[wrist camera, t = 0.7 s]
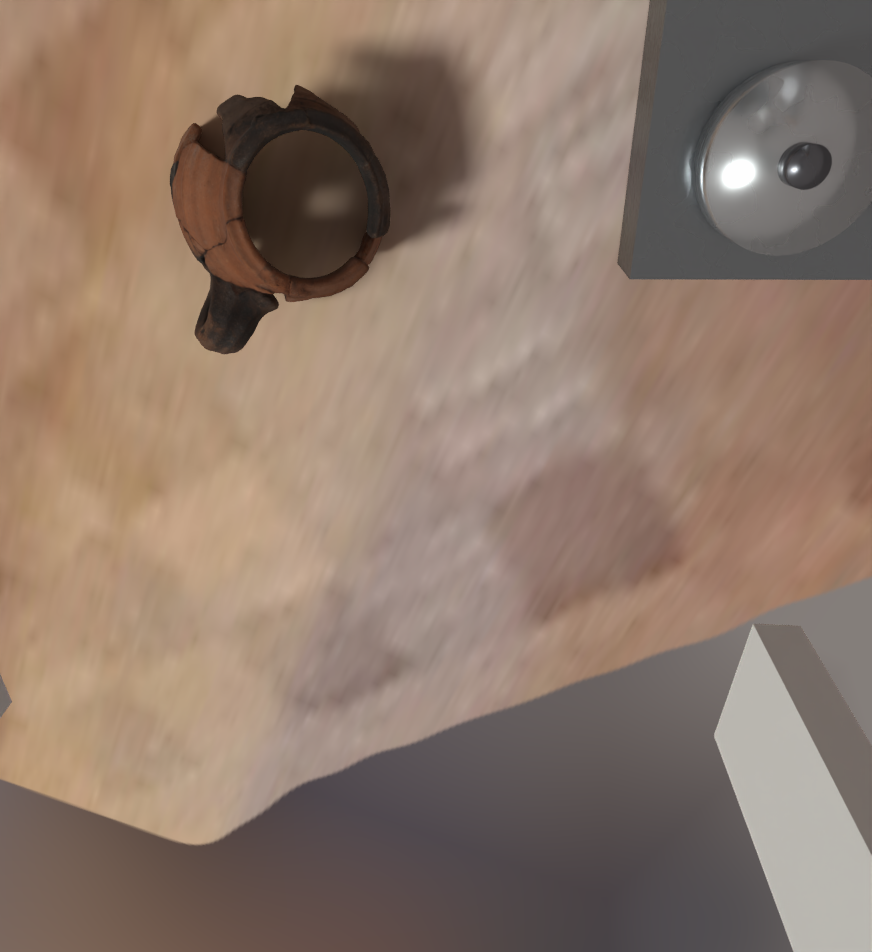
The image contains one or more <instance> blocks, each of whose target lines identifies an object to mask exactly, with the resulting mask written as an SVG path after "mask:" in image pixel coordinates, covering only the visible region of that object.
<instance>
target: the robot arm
mask: <svg viewBox="0 0 872 952" xmlns="http://www.w3.org/2000/svg"><path fill="white" fill-rule="evenodd" d="M11 702H12V701H11V698H10V696H9V694H8V691H7V689H6V687H5V684H4V682H3V680H2V677H1V675H0V718H1V716H2V715H3V713H4V712H5V711H6V709H7V708H8V707H9V705H10V704H11ZM714 737H715V740H716V742H717V745H718V748H719V751H720V753H721V756H722V759H723V761H724V764H725V767H726V770H727V772H728V775H729V778H730V780H731V783H732V786H733V789H734V791H735V794H736V797H737V799H738V802H739V805H740V808H741V810H742V813H743V816H744V819H745V821H746V824H747V827H748V829H749V832H750V835H751V837H752V840H753V843H754V846H755V848H756V851H757V854H758V856H759V859H760V862H761V865H762V867H763V870H764V873H765V876H766V878H767V880H768V884H769V886H770V889H771V892H772V895H773V897H774V900H775V903H776V905H777V908H778V911H779V914H780V916H781V919H782V922H783V924H784V927H785V930H786V933H787V935H788V938H789V941H790V943H791V946H792V949H793V952H872V745H871V744H870V742H869V740H868V739H867V737H866V735H865V734H864V732H863V730H862V729H861V727H860V725H859V724H858V722H857V720H856V719H855V717H854V715H853V713H852V712H851V710H850V708H849V707H848V705H847V703H846V702H845V700H844V698H843V697H842V695H841V693H840V692H839V690H838V688H837V687H836V685H835V683H834V682H833V680H832V678H831V677H830V675H829V673H828V671H827V670H826V668H825V667H824V665H823V663H822V661H821V660H820V658H819V656H818V655H817V653H816V651H815V650H814V648H813V646H812V645H811V643H810V641H809V639H808V638H807V636H806V635H805V633H804V631H803V629H802V628H801V626H792V625H791V626H790V625H769V624H753V625H752V628H751V631H750V634H749V637H748V640H747V642H746V646H745V648H744V651H743V654H742V657H741V660H740V662H739V665H738V668H737V671H736V674H735V677H734V680H733V683H732V686H731V689H730V691H729V694H728V697H727V700H726V703H725V705H724V708H723V711H722V714H721V717H720V720H719V723H718V726H717V728H716V731H715V734H714Z"/></svg>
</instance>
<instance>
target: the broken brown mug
mask: <svg viewBox="0 0 872 952" xmlns="http://www.w3.org/2000/svg"><path fill="white" fill-rule="evenodd" d="M217 114H218V116H219V117H220V118H221V119H222V121H223V124H222V130H223V135H224V138H225V156H226V159H225V160H223V159H221V158H219V157H218V156H216V155H214V154H212V153H211V152H209V151H207V150H206V149H205V148H203V147H202V146H201V144H199V143H198V141H199V139H200V137H201V133H202V129H201V127H200V126H199V125H197V124H195V123H193V124H192V125H191V126H190V127H189V128H188V130H187V131H186V132H185V134H184V135H183V137H182V139H181V141H180V144H179V147H178V149H177V151H176V154H175V156H174V163H173V166H172V168H171V174H170V186H171V194H172V199H173V204H174V208H175V213H176V217H177V218H178V221H179V224H180V227H181V230H182V233H183V235H184V238H185V240H186V242H187V243H188V246H189V247H190V249H191V251H192V253H193V254H194V256H195V257H196V258H197V260H198V261H199V262H200V263H202V264H203V266H204V268H205V269H206V270H207V271H208V272H209V273H210V276H211V285H210V290H209V293H208V296H207V298H206V301H205V303H204V305H203V307H202V309H201V312H200V315H199V318H198V321H197V324H196V328H195V336H196V338H197V339H198V340H199V341H200V343H201V345H202V346H204V348H206V349H208V350H210V351H215V352H219V353H221V354H229V353H235V352H238V351H239V350H241V349H242V348H243V347H244V346H245V345H246V343H247V341H248V340H249V339H250V337H251V336H252V334H253V333H254V331H255V329H256V327H257V325H258V323H259V321H260V320H261V318H262V317H263V316H264V315H265V314H267V313H268V312H271V311H273V310H275V309H277V308H278V306H279V303H278V301H277V299H276V298H275V296H274V295H273V294H274V293H283V294H284V295H285V299H286V301H287V302H296V301H303V300H308V299H311V298H320V297H326V296H332V295H334V294H336V293H339V292H342V291H343V290H345V289H347V288H349V287H351V286H353V285H354V284H355V283H356V282H357V281H358V280H359V279H360V278H362V277H363V276H364V275H365V273H366V272H367V271H368V270H369V266H368V265H369V264H370V263H371V261H372V259H373V258H374V255H375V253H376V251H377V249H378V247H379V244H380V241H381V238H382V236H383V235H385V234H386V233H387V232H388V229H389V225H390V202H389V188H388V184H387V180H386V176H385V173H384V171H383V169H382V166H381V164H380V162H379V160H378V158H377V157H376V156H375V154H374V151H373V149H372V147H371V145H370V144H369V142H368V141H367V140H366V139H365V138H364V137H363V136H362V135H361V134H360V132H359V130H358V128H357V126H356V125H355V124H354V123H353V122H352V121H351V120H350V119H349V118H348V117H347V116H345V115H344V114H343V113H341V112H339V111H338V110H337V109H336V108H333V107H332V106H331V105H329V104H328V103H326V102H325V101H323V100H322V99H321V98H319V97H317V96H316V95H315V94H313V93H312V92H311V91H309V90H307V89H305V88H303V87H301V86H299V85H296V86H295V88H294V94H293V96H292V98H291V101H290V103H289V105H288V107H287V108H286V109H284V108H281V107H280V106H278V105H277V104H276V103H274V102H273V101H272V100H267V99H265V98H263V97H253V98H246V97H244V96H241V95H234V96H232V97H231V98H229V99H228V100H226V101H225V102H223V103H222V104H221V105H220V106H219V107H218V108H217ZM299 130H308V131H314V132H317V133H321V134H323V135H326V136H328V137H330V138H331V139H333V140H334V141H336V142H337V143H338V144H340V145H341V146H342V147H343V148H344V149H345V150H346V151H347V152H348V153H349V154H350V155H351V157H352V158H353V160H354V161H355V162H356V164H357V166H358V168H359V170H360V173H361V175H362V178H363V180H364V183H365V186H366V190H367V196H368V222H367V232H366V233H365V235H364V237H363V240H362V243H361V246H360V249H359V250H358V252H357V253H356V255H355V256H354V257H352V258H350V259H349V260H348V261H347V262H346V263H345V264H344V265H343V266H342V267H340V268H339V269H338V270H336V271H334V272H332V273H330V274H328V275H325V276H321V277H316V278H299V277H296V276H291V275H287V274H285V273H283V272H281V271H279V270H278V269H276V268H275V267H273V266H272V265H271V264H270V263H269V262H267V261H266V260H265V259H264V258H263V257H262V255H261V254H260V253H259V252H258V250H257V249H256V247H255V246H254V244H253V242H252V240H251V238H250V236H249V234H248V231H247V228H246V225H245V221H244V217H243V206H242V195H243V188H244V183H245V179H246V175H247V169H248V168H249V166H250V164H251V162H252V161H253V159H254V157H255V156H256V155H257V153H258V152H259V151H260V150H261V149H262V148H263V147H264V146H265V145H266V144H267V143H268V142H270V141H271V140H273V139H275V138H276V137H278V136H280V135H282V134H285V133H289V132H293V131H299Z"/></svg>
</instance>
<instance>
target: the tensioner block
mask: <svg viewBox="0 0 872 952" xmlns="http://www.w3.org/2000/svg"><path fill="white" fill-rule="evenodd" d="M618 265H619V266H620V267H621V269H622V270H623V271H624V272H625V274H626V275H627V276H628V278H629V279H788V280H872V0H650V4H649V12H648V20H647V28H646V36H645V45H644V53H643V61H642V69H641V77H640V85H639V93H638V101H637V109H636V118H635V126H634V134H633V142H632V150H631V158H630V166H629V174H628V183H627V191H626V199H625V207H624V215H623V223H622V231H621V239H620V248H619V256H618Z"/></svg>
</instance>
